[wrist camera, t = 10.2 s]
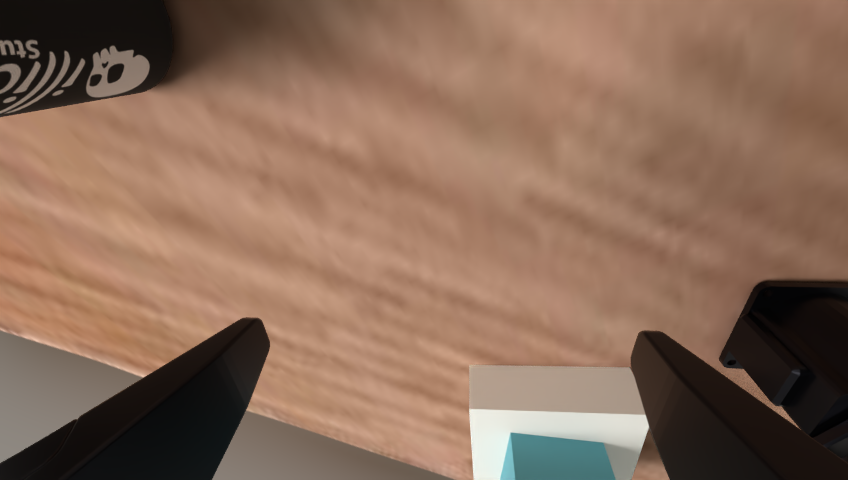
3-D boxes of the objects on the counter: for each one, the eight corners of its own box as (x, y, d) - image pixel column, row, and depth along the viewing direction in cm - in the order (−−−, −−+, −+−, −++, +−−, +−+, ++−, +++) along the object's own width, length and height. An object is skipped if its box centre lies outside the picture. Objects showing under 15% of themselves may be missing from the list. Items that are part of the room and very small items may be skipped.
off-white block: (627, 362, 25) (653, 415, 21) (604, 452, 30) (622, 506, 27) (469, 360, 26) (469, 409, 23) (474, 446, 32) (474, 496, 28)
